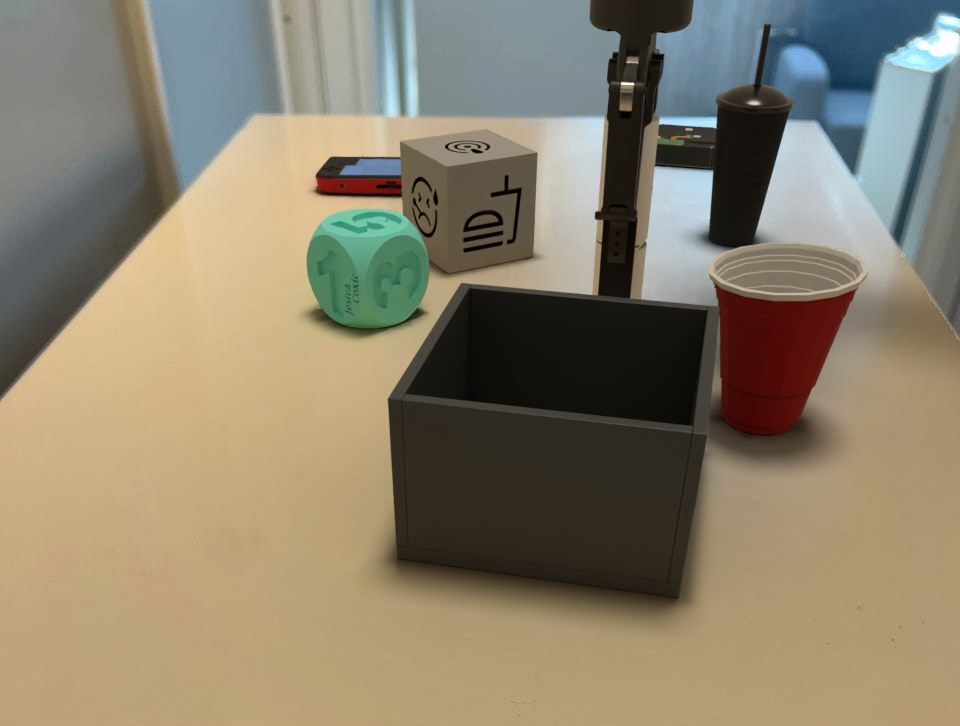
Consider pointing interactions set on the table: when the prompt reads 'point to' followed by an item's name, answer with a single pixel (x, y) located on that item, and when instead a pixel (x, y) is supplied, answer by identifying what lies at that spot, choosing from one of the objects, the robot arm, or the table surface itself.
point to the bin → (555, 436)
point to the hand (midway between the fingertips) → (617, 285)
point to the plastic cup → (778, 327)
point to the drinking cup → (745, 154)
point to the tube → (642, 207)
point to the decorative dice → (368, 267)
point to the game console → (360, 175)
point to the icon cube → (470, 198)
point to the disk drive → (686, 146)
